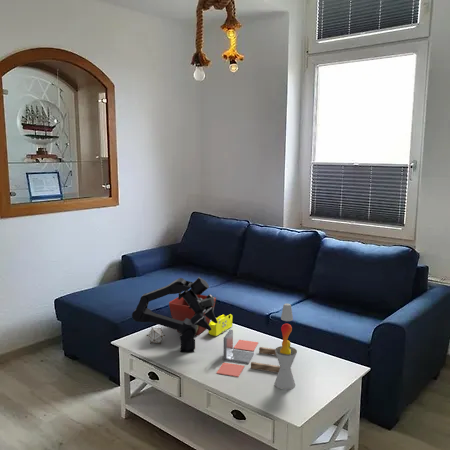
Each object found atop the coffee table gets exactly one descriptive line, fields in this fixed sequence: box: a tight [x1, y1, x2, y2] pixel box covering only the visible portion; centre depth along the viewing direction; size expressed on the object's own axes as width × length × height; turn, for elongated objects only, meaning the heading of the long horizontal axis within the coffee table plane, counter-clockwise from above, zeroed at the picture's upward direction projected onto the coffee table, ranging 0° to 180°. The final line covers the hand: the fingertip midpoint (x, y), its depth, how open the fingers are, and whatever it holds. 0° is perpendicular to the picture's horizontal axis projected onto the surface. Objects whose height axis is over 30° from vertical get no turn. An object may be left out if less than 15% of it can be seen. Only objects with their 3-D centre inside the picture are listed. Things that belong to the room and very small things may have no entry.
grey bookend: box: [222, 329, 255, 365], centre depth 217 cm, size 12×10×11 cm
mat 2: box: [233, 339, 259, 352], centre depth 230 cm, size 10×10×1 cm
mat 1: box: [215, 362, 245, 378], centre depth 206 cm, size 10×10×1 cm
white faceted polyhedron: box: [146, 326, 166, 345], centre depth 233 cm, size 9×8×10 cm
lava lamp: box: [274, 303, 298, 391], centre depth 191 cm, size 9×9×35 cm
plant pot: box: [168, 294, 217, 337], centre depth 248 cm, size 19×19×17 cm
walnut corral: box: [250, 346, 280, 373], centre depth 213 cm, size 15×17×2 cm
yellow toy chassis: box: [207, 313, 234, 337], centre depth 248 cm, size 16×6×8 cm, turn 147°
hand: (213, 326), depth 220 cm, fingers open, 9 cm apart
